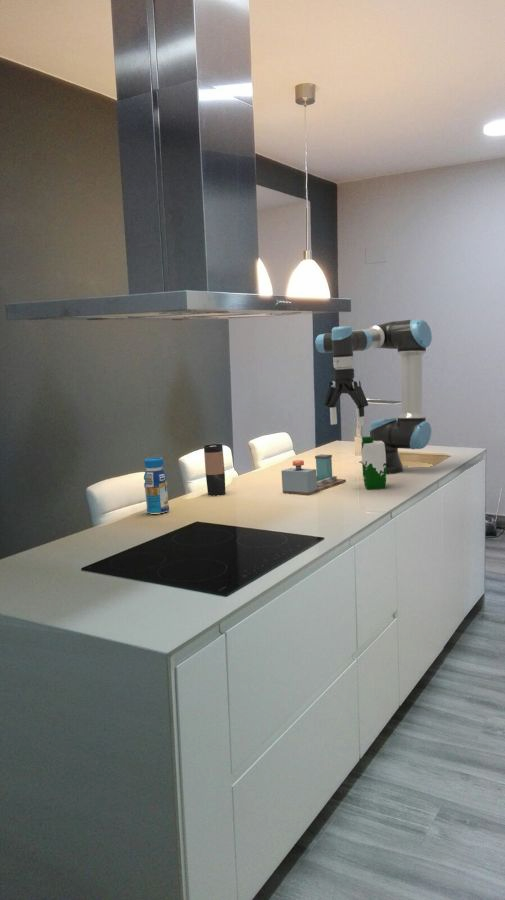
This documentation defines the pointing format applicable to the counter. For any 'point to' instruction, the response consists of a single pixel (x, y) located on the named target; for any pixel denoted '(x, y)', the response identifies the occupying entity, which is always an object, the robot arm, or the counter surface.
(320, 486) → the rail track
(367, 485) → the milk carton
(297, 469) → the button
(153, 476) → the beverage bottle
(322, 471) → the carriage
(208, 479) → the travel mug
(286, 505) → the counter surface
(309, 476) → the cabinet
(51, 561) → the counter surface
